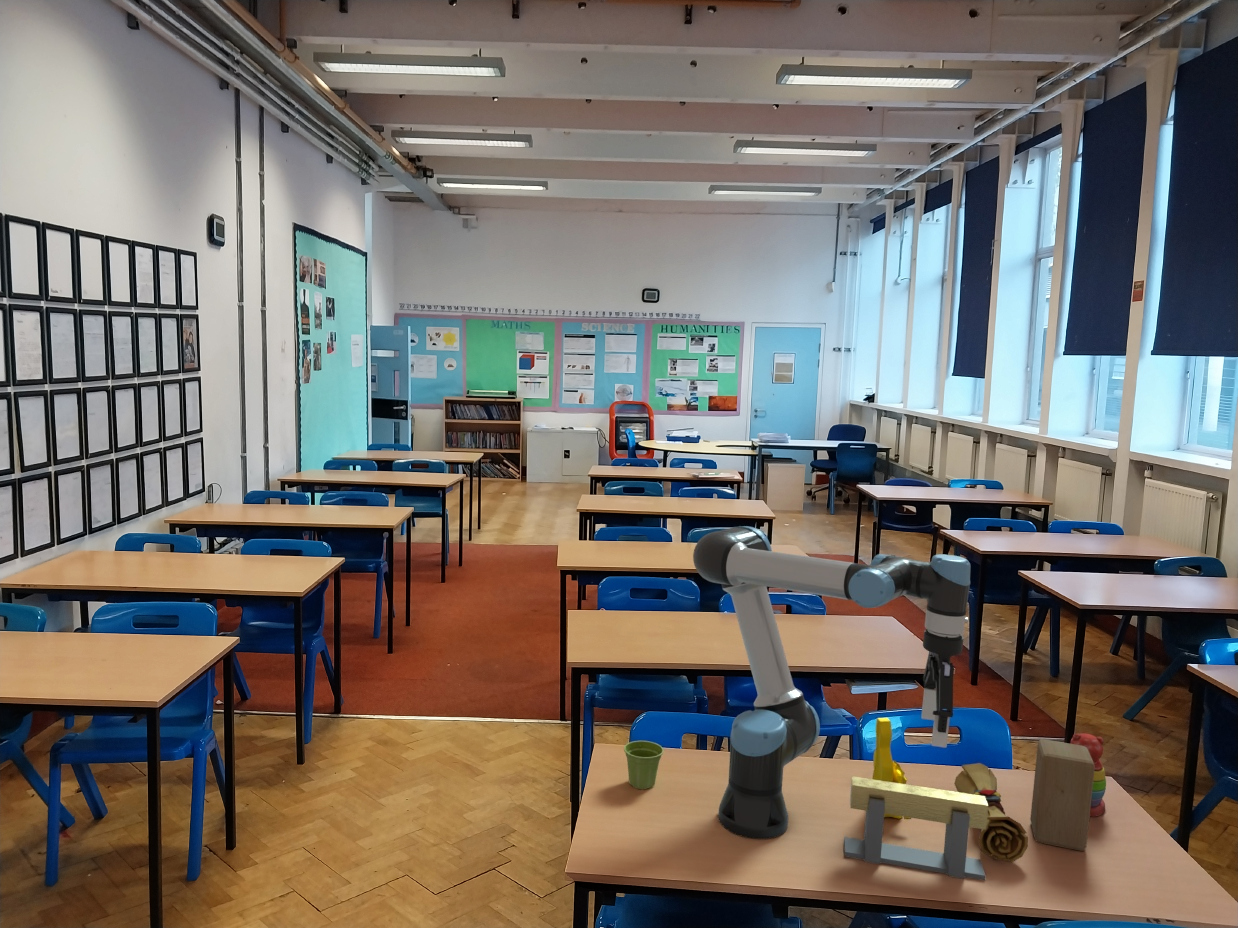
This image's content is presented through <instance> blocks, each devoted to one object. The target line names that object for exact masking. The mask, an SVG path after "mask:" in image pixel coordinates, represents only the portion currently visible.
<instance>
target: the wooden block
mask: <svg viewBox="0 0 1238 928" xmlns="http://www.w3.org/2000/svg"><path fill="white" fill-rule="evenodd" d="M1036 748H1037V750H1036V759H1035V768H1034V779H1033V789H1032V790H1033V791H1032V798H1031V799H1032V800H1031V809H1030V810H1031V811H1030V818H1029V821H1030V825H1031V827H1032V833H1033V835H1034V839H1035V841H1036V842H1038V843H1040V844H1041V843H1042V844H1045V845H1046V844H1047V845H1051V846H1056V847H1061V848H1065V849H1071V850H1075V851H1080V852H1081V851H1082V852H1083V851H1085V850H1086V848H1087V842H1088V836H1089V835H1088V834H1089V824H1090V807H1091V798H1092V789H1093V779H1094V770H1095V765H1094V762H1093V760H1092V758H1091V756H1090V753H1089V751H1088V749H1087V747H1085V746H1081V745H1075V744H1070V743H1067V742H1063V741H1057V740H1051V739H1045V738H1041V739H1039V740H1038V742H1037V747H1036Z"/></svg>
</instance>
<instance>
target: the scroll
mask: <svg viewBox="0 0 1238 928" xmlns="http://www.w3.org/2000/svg"><path fill="white" fill-rule="evenodd" d="M961 769H962V770H961V772H960V773H958V774H957V776H956V777H955V779H954V786H955V789H956V792H960V793H967V794H973V795H980V796H985V798H986V801H987V804H988V813H987V824H986V830H985V829H981V832H980V834H979V837H978V843H979V848H980V851H981V852H983V853H984V854H986V855H987V856H989V857H990V858H991V857H992V856H993V858H994V859H995V860H998V861H1003V862H1008V863H1013V862H1015V861H1017V860H1019V859H1021V858H1023V855H1024V854H1025V853H1026V850H1027V849H1028V847H1029V837H1028V835H1027V832H1026V830H1025V828H1024V826H1022V824H1021V823H1020V822H1018V821H1017V820H1014V819H1013V818H1011V817H1009V816H1006V812H1005V809H1004V807H1003V805H1002V803H1001V802H1002V800H1001V797H1002V795H1001V793H999V792H998V791H997V790H998V786H997V785H998V783H997V781H998V780H997V777H996V775H995V774H994V773H993V771H992V770H991V769H990V768H989V767H988V766H986V765H985V764H983V763H982V762H977V763H971V764H969V763H968V764H962V765H961Z"/></svg>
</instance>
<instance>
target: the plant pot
mask: <svg viewBox="0 0 1238 928" xmlns="http://www.w3.org/2000/svg"><path fill="white" fill-rule="evenodd" d="M623 751H624V754H625V757H626V761H627V769H628V770H627V771H628V783H629V785H631V786H633V788H635V789H638V790H647V789H648V788H649V789H650V788H653V787H655V784H656V780H657V774H658V770H659V764H660V760H661V758H662V755H663V754H664V751H665V750H664V748H663V747H662V745H660V744H658V743H656V742H653V741H648V740H634V741H630V742H627V743H626V744H625V745H624V746H623Z"/></svg>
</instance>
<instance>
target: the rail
mask: <svg viewBox="0 0 1238 928" xmlns="http://www.w3.org/2000/svg"><path fill="white" fill-rule="evenodd" d="M850 784H851V785H850V795H849V796H850V798H849V806H850V809H853V810H858V811H865V812H866V811H868V810H869V798H872V799H878V800H884V801H885V811H884V814H890V815H897V816H902V818H904V817H909V818H911V819H916V820H923V821H930V822H936V823H943V824H946V823H947V824H952V815H953V811H955V812H962V813H968V814H969V816H970V820H969V828H972V829H980V830H982V829H985V830H986V824H987V813H988V804H987V801H986V798H985V796H980V795H973V794H967V793H960V792H958V791H953V790H947V789H939V788H934V787H933V788H932V787H925V786H918V785H913V784H907V783H906V784H900V783H893V782H886V781H880V780H873V779H872V778H865V777H859V776H851V783H850Z"/></svg>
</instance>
